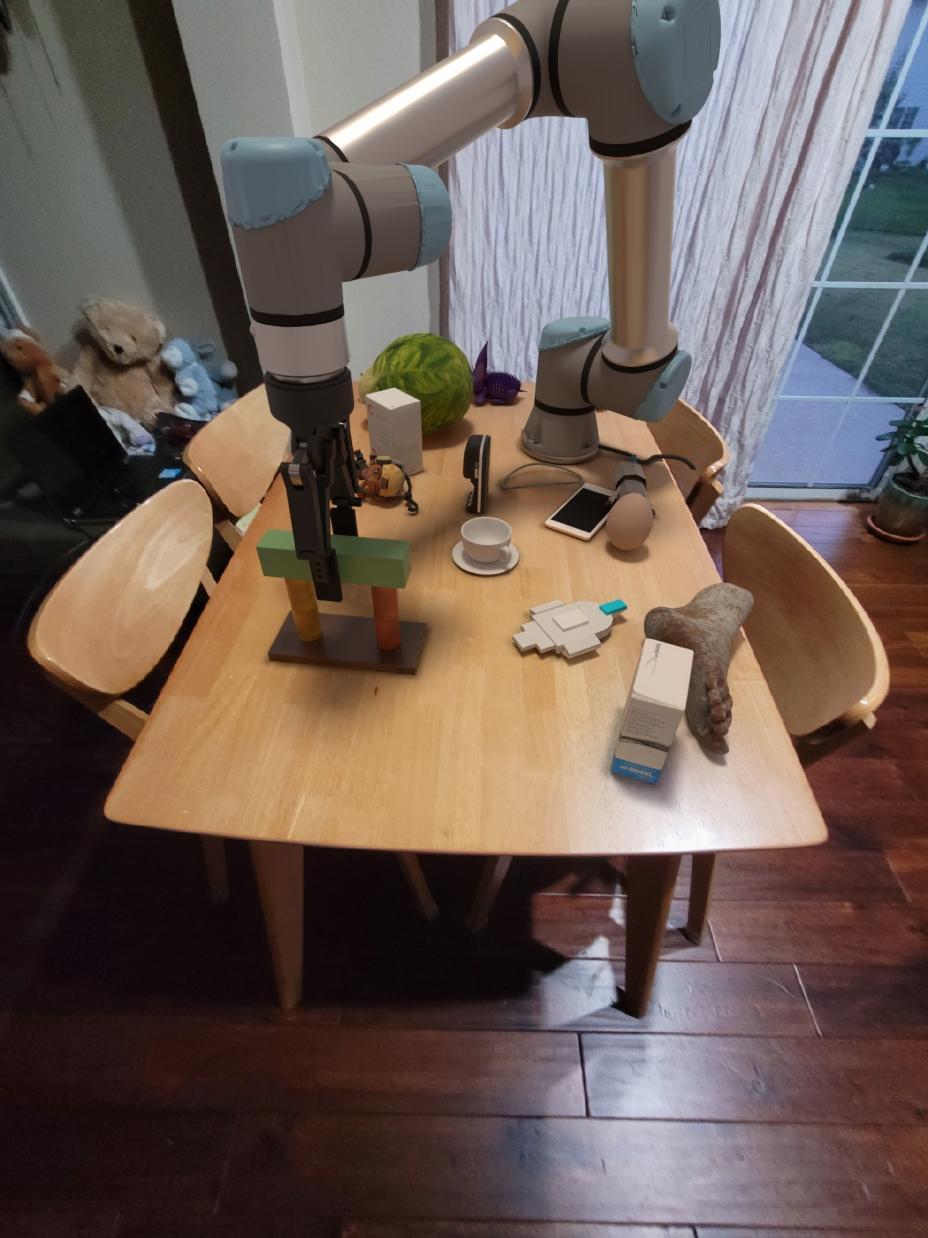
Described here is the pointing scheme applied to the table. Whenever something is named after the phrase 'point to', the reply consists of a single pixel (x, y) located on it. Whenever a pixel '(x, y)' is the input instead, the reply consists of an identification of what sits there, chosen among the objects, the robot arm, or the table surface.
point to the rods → (348, 634)
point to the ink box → (652, 710)
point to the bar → (340, 559)
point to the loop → (541, 483)
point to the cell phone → (583, 512)
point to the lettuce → (424, 378)
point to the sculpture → (705, 653)
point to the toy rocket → (568, 626)
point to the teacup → (485, 546)
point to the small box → (396, 427)
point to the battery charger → (477, 470)
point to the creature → (493, 382)
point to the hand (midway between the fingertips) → (339, 577)
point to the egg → (629, 522)
